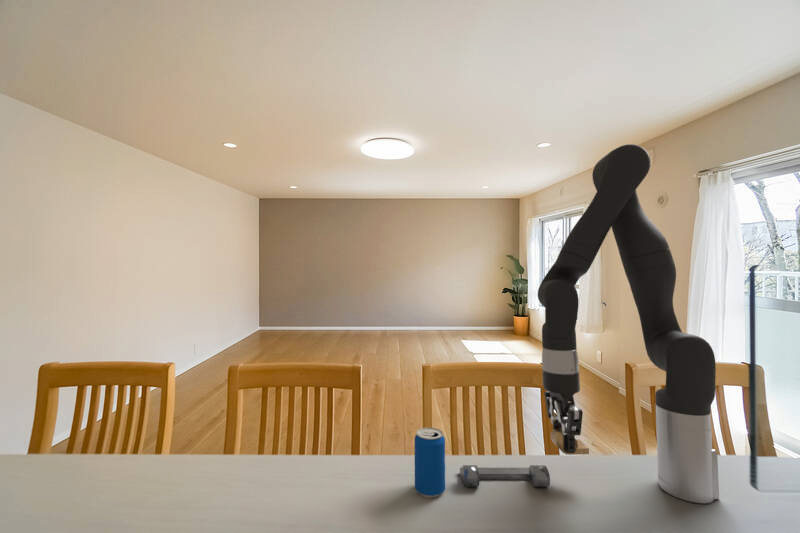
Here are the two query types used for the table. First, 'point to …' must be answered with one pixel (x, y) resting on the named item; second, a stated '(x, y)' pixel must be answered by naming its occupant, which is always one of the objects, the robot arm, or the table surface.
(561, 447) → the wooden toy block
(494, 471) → the grey metal dumbbell
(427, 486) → the beverage can
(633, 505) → the table surface
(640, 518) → the table surface
